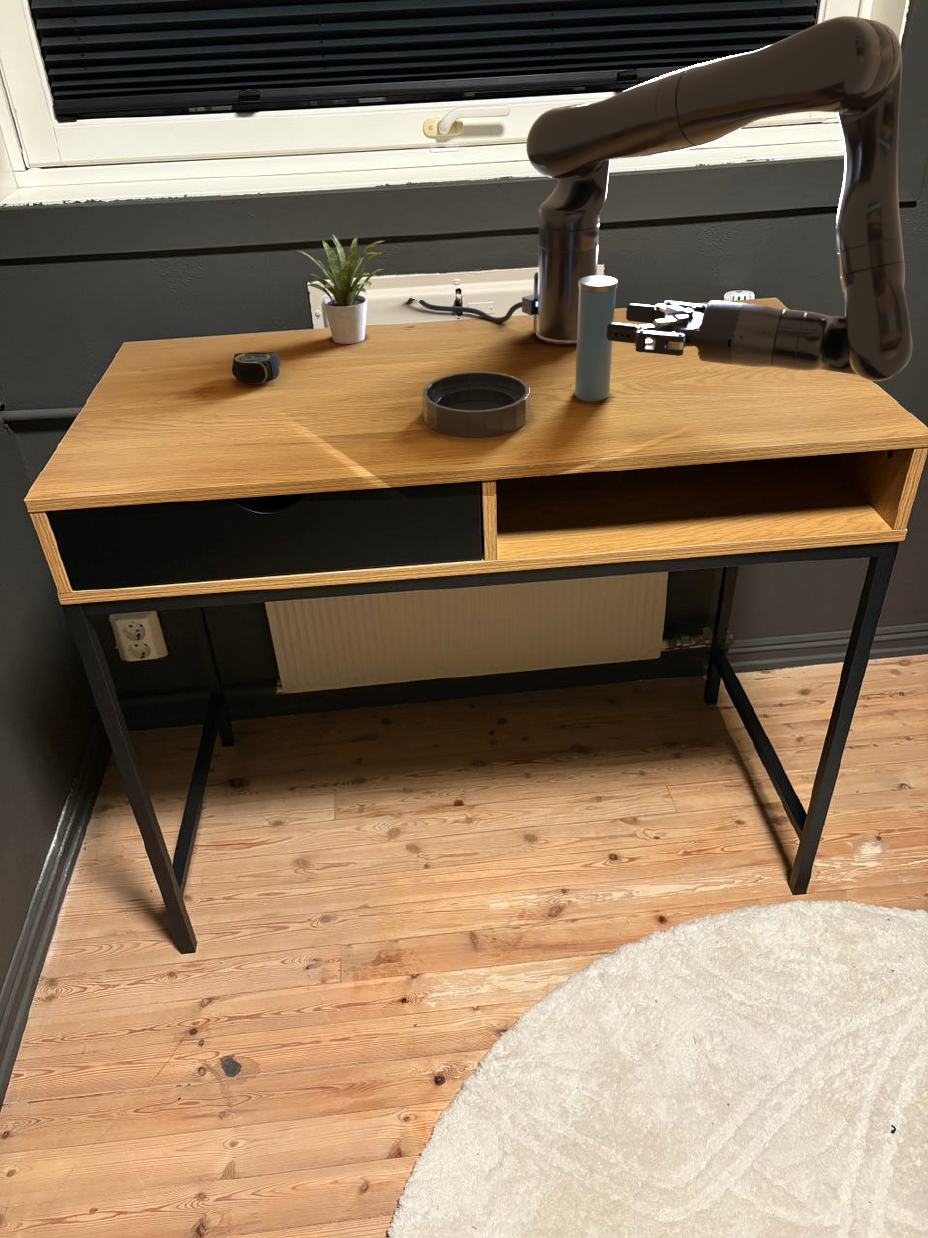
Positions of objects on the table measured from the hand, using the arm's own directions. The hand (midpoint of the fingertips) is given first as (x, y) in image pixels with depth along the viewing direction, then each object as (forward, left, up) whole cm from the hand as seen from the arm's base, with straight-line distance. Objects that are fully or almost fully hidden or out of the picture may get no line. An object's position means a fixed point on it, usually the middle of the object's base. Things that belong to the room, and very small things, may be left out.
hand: (617, 321), depth 124 cm
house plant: (-46, -14, -11) cm, 49 cm away
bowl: (-7, -18, -11) cm, 23 cm away
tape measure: (-40, -36, -11) cm, 54 cm away
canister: (-3, -1, -11) cm, 11 cm away
